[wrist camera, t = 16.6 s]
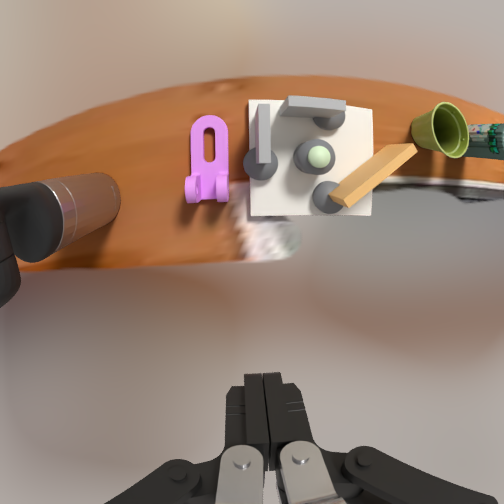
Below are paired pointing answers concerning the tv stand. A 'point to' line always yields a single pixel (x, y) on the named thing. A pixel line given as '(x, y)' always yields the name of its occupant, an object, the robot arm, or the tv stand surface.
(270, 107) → the plate
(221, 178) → the bracket
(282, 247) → the tv stand surface
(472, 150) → the can
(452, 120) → the plant pot
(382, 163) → the tan upright panel
